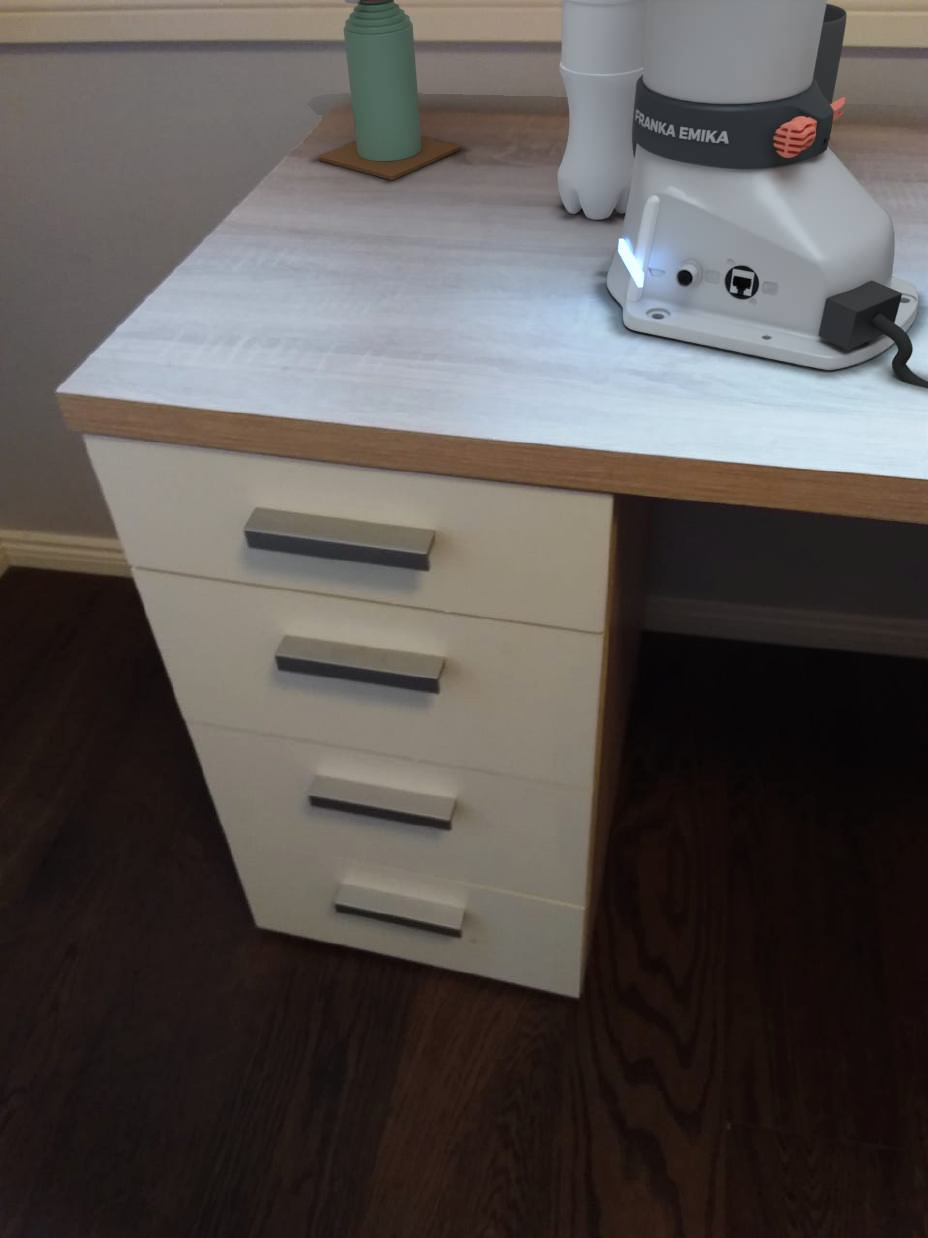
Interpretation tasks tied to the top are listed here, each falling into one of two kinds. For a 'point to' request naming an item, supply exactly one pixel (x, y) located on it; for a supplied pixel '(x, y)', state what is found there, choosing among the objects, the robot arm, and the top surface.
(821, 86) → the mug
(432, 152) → the mat
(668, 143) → the robot arm
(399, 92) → the bottle
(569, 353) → the top surface
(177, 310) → the top surface
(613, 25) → the water bottle
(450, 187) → the top surface
